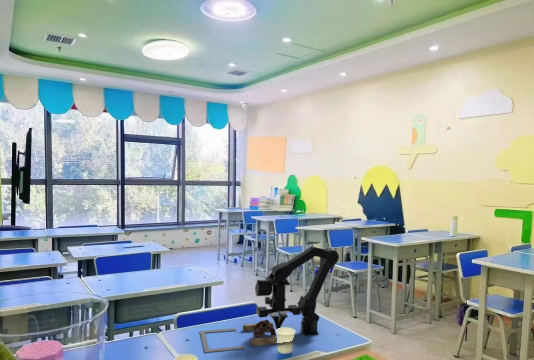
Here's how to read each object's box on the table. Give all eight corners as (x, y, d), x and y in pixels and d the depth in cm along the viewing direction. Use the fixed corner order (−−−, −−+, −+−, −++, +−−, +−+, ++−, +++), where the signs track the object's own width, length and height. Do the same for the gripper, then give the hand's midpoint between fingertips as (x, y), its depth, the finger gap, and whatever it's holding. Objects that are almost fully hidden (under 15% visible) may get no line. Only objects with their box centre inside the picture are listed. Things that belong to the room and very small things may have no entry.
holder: (272, 327, 173) (272, 322, 173) (283, 343, 156) (283, 337, 156) (242, 330, 169) (242, 324, 169) (251, 346, 152) (251, 340, 152)
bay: (235, 329, 170) (235, 328, 170) (244, 349, 150) (244, 348, 150) (199, 331, 166) (199, 331, 166) (204, 352, 145) (204, 351, 145)
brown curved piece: (278, 344, 156) (269, 328, 155) (257, 352, 158) (249, 336, 156) (278, 326, 168) (270, 311, 166) (260, 333, 170) (251, 319, 168)
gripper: (292, 288, 175) (291, 322, 175) (254, 290, 170) (252, 325, 170) (301, 295, 164) (300, 331, 164) (260, 298, 159) (259, 334, 159)
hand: (277, 330), depth 164 cm, fingers closed
